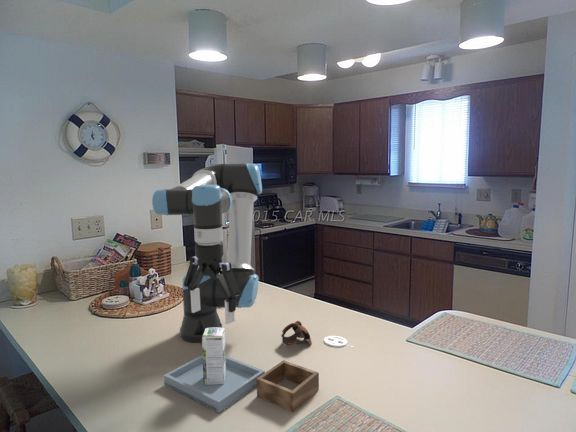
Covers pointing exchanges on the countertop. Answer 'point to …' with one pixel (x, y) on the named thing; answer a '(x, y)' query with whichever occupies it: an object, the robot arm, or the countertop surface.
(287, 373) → the wooden cube shelf
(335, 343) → the pendant
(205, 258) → the robot arm
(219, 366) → the syrup box
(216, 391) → the grey tray
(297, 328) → the brown curved piece
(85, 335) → the countertop surface
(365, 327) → the countertop surface
